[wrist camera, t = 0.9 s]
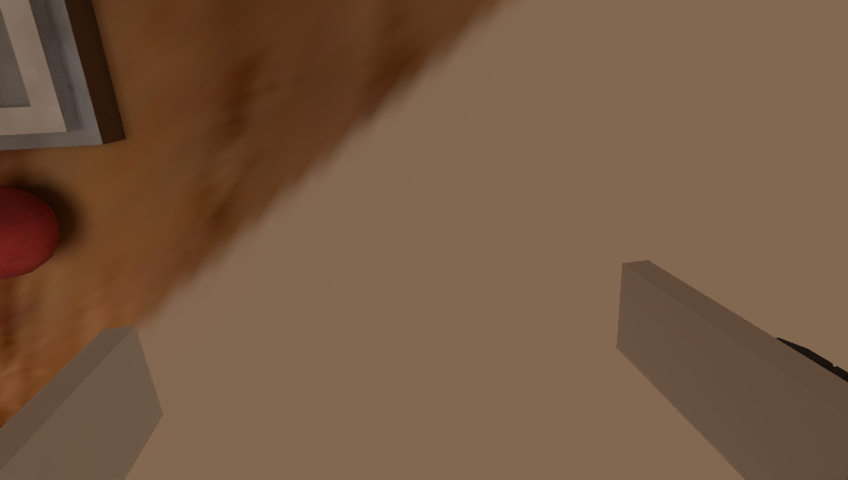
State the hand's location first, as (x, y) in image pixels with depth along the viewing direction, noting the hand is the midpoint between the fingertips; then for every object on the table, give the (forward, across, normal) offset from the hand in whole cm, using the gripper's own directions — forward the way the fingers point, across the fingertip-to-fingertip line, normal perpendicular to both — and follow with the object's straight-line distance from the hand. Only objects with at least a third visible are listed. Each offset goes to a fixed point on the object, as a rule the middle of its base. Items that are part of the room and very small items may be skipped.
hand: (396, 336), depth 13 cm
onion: (+24, -24, 0) cm, 34 cm away
